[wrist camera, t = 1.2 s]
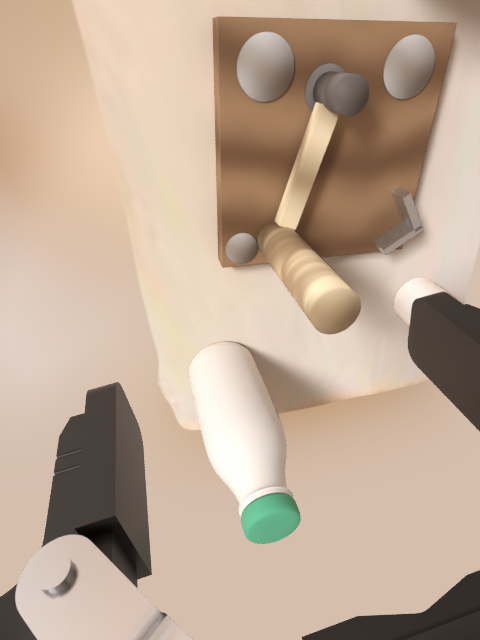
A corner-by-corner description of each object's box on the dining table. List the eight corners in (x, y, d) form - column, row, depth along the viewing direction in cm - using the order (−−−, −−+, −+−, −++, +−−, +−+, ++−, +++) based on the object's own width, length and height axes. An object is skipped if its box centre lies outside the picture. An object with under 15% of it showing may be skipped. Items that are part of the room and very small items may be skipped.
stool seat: (212, 18, 30) (218, 16, 28) (440, 24, 33) (458, 22, 32) (218, 258, 40) (223, 268, 38) (391, 241, 44) (402, 249, 42)
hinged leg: (315, 64, 31) (419, 72, 20) (354, 79, 32) (470, 94, 21) (252, 252, 38) (304, 331, 27) (285, 259, 39) (347, 336, 29)
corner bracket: (360, 213, 39) (370, 220, 37) (398, 186, 38) (410, 192, 37) (375, 247, 41) (385, 255, 40) (411, 222, 41) (423, 229, 39)
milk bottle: (174, 373, 46) (204, 546, 30) (219, 327, 45) (278, 486, 28) (221, 400, 51) (271, 564, 34) (265, 359, 49) (339, 513, 33)
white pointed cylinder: (460, 348, 38) (516, 323, 38) (390, 287, 47) (434, 268, 48) (461, 390, 41) (511, 367, 41) (395, 325, 51) (436, 307, 51)
